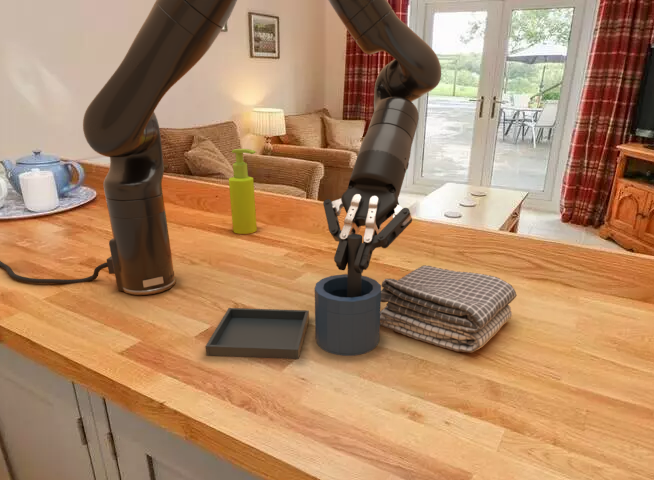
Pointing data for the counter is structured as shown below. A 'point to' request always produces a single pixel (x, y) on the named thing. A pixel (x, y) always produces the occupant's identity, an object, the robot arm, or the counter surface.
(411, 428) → the counter surface
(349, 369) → the counter surface
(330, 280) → the dark gray pen holder
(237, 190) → the soap dispenser
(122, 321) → the counter surface
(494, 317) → the towel
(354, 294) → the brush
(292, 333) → the tray
